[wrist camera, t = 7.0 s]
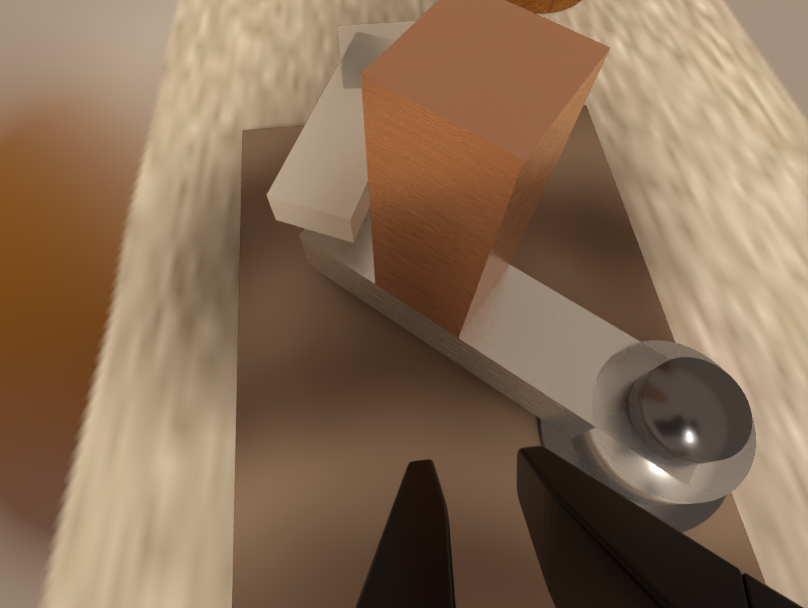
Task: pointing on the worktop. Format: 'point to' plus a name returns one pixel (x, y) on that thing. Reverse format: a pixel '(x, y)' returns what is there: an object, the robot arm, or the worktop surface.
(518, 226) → the lever link
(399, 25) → the block
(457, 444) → the walnut board
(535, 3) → the disposable coffee cup
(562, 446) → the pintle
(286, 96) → the worktop surface
